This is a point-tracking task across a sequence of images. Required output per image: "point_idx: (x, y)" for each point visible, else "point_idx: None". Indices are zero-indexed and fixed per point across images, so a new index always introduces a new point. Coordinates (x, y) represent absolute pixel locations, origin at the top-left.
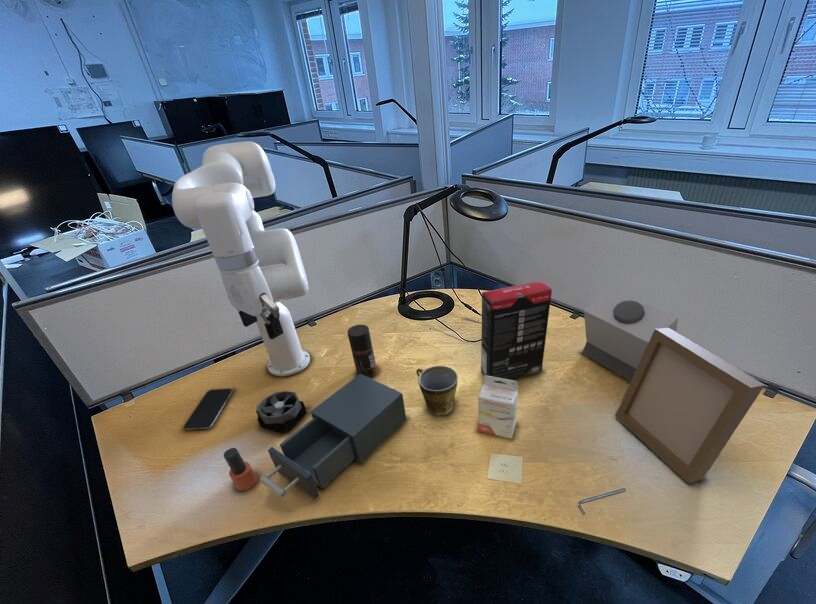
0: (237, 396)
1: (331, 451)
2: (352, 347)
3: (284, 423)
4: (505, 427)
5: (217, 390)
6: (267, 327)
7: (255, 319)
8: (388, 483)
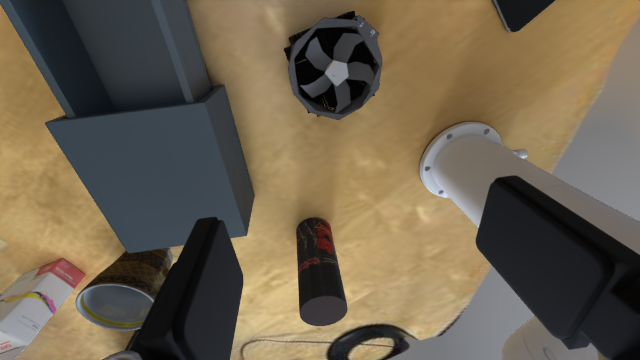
0: (484, 31)
1: (40, 60)
2: (320, 268)
3: (288, 50)
4: (10, 289)
5: (544, 4)
6: (160, 306)
7: (486, 248)
8: (23, 105)
